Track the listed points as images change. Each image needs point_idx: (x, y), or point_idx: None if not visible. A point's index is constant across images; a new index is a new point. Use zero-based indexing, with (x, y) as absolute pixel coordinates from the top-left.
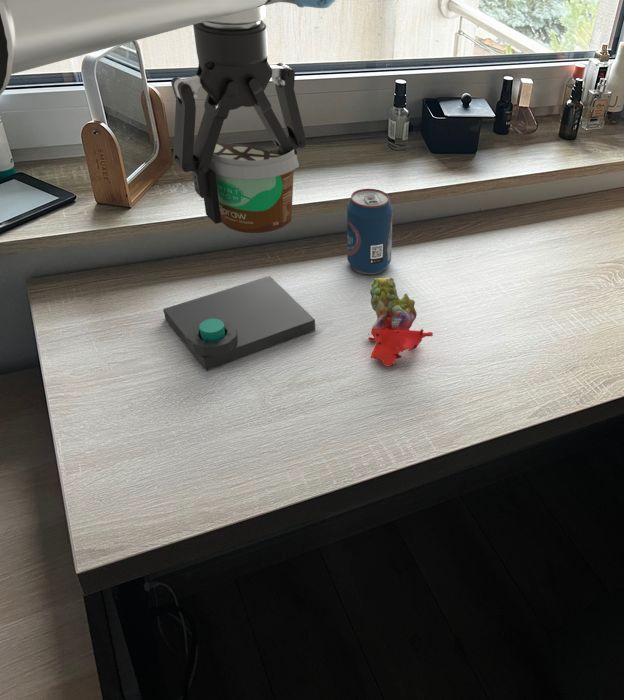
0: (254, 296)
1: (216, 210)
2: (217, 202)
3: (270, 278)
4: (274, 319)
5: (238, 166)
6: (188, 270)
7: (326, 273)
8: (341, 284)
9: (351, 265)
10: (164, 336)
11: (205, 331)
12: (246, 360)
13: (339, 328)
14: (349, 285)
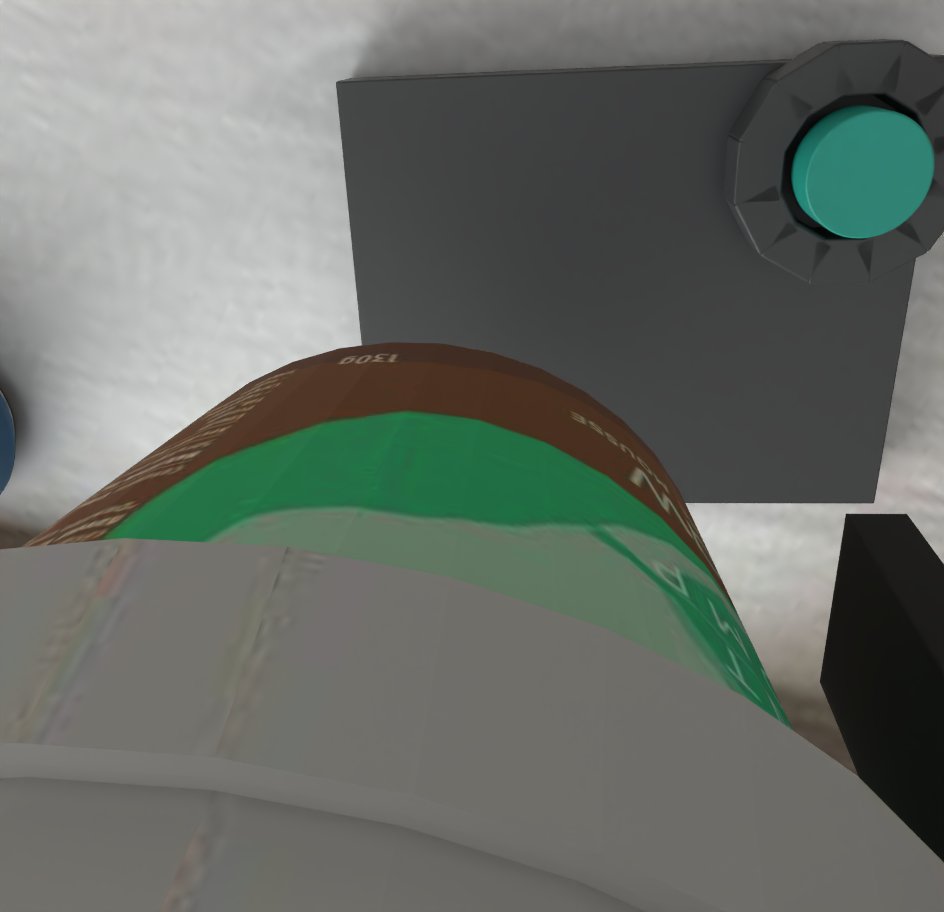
0: None
1: (935, 588)
2: (942, 647)
3: None
4: (507, 187)
5: None
6: None
7: (136, 448)
8: (104, 346)
9: (12, 426)
10: (919, 380)
11: (924, 141)
12: (731, 29)
13: (239, 32)
14: (73, 322)
